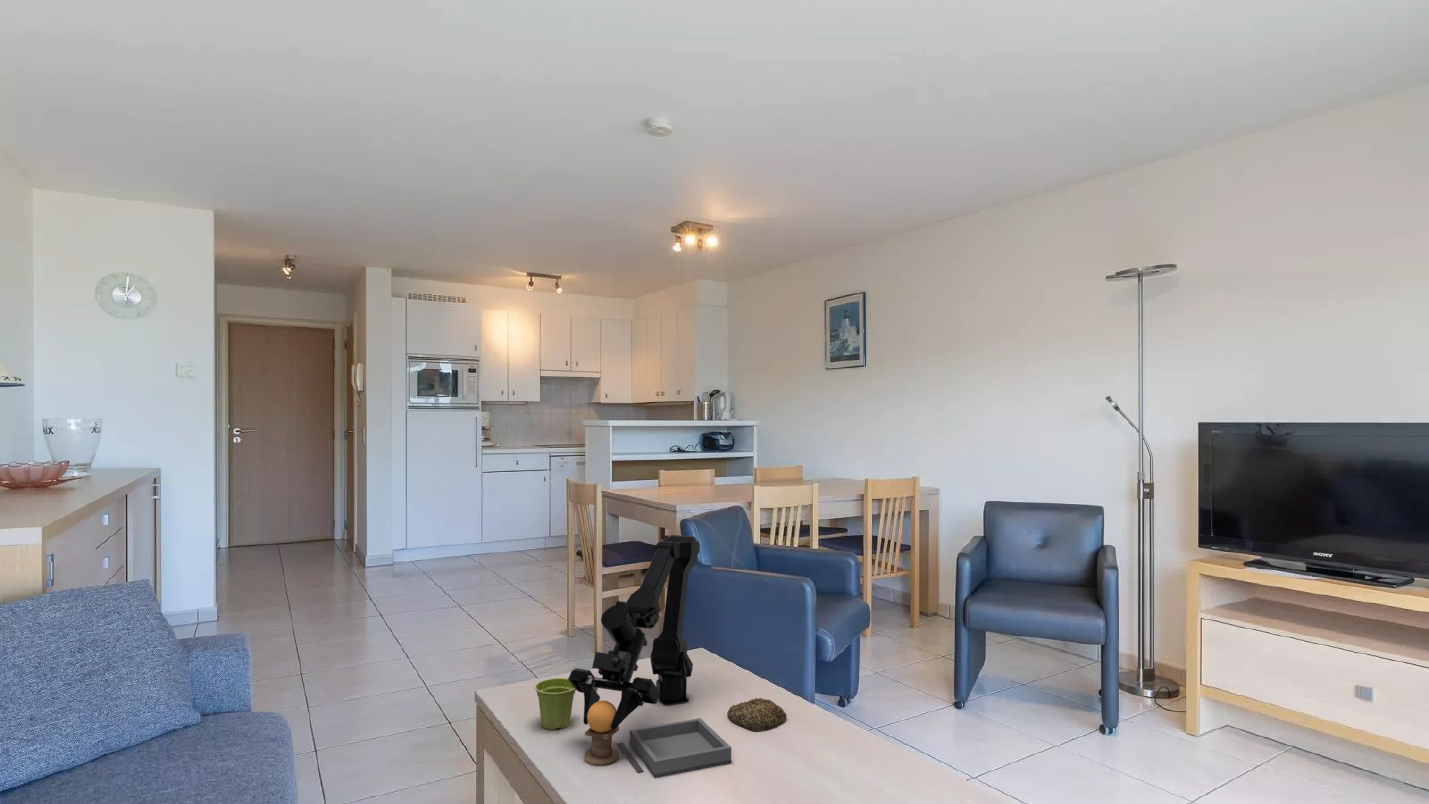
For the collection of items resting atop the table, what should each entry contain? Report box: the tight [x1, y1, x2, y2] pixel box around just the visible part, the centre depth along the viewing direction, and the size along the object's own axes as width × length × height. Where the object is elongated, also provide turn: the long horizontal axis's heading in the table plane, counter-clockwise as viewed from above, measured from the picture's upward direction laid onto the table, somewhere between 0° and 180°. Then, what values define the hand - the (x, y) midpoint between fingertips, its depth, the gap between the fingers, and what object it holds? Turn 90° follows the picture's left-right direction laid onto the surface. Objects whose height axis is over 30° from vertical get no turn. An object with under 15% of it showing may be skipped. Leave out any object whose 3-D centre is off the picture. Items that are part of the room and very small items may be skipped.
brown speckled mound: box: [726, 697, 788, 732], centre depth 171 cm, size 13×12×5 cm
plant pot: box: [534, 677, 577, 730], centre depth 167 cm, size 9×9×9 cm
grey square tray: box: [628, 717, 732, 779], centre depth 153 cm, size 16×16×3 cm
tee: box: [583, 726, 620, 767], centre depth 151 cm, size 7×7×6 cm
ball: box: [587, 700, 617, 733], centre depth 151 cm, size 6×6×6 cm
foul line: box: [616, 741, 644, 774], centre depth 151 cm, size 1×14×1 cm, turn 24°
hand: (598, 726), depth 150 cm, fingers closed on ball, 6 cm apart
